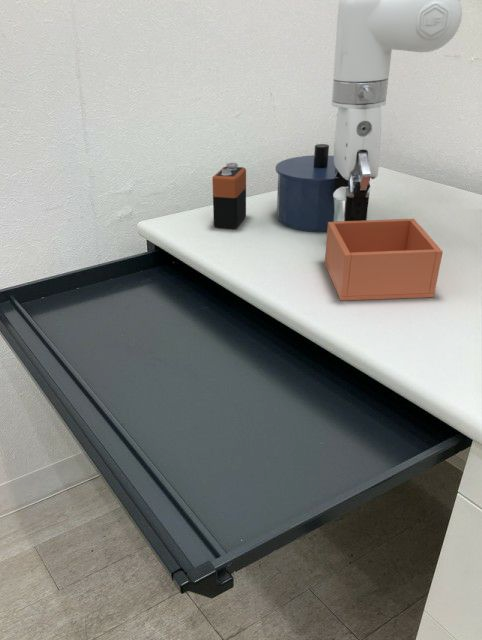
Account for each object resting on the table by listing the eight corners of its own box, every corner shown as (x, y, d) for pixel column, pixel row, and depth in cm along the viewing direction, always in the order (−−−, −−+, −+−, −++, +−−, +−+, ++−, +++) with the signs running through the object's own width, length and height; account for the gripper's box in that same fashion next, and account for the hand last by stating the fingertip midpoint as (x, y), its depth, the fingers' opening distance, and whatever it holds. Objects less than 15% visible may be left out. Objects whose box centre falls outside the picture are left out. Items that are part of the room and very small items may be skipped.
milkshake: (326, 249, 95) (331, 187, 90) (331, 237, 100) (336, 177, 94) (355, 252, 94) (362, 188, 89) (358, 239, 98) (365, 178, 93)
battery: (246, 217, 110) (246, 161, 104) (236, 230, 104) (236, 172, 99) (224, 215, 111) (223, 160, 105) (212, 228, 106) (211, 171, 100)
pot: (349, 203, 114) (354, 157, 109) (367, 230, 102) (373, 180, 97) (273, 206, 114) (274, 161, 110) (282, 233, 102) (283, 184, 98)
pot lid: (354, 159, 111) (357, 133, 108) (375, 183, 98) (379, 154, 95) (270, 163, 111) (271, 137, 108) (281, 187, 98) (282, 159, 95)
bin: (407, 260, 91) (414, 218, 87) (433, 297, 80) (443, 251, 77) (324, 263, 91) (327, 221, 87) (340, 300, 81) (345, 255, 77)
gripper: (403, 102, 77) (386, 230, 86) (371, 82, 91) (359, 194, 101) (345, 105, 77) (335, 232, 87) (322, 85, 91) (315, 196, 101)
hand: (348, 211), depth 94 cm, fingers open, 9 cm apart
